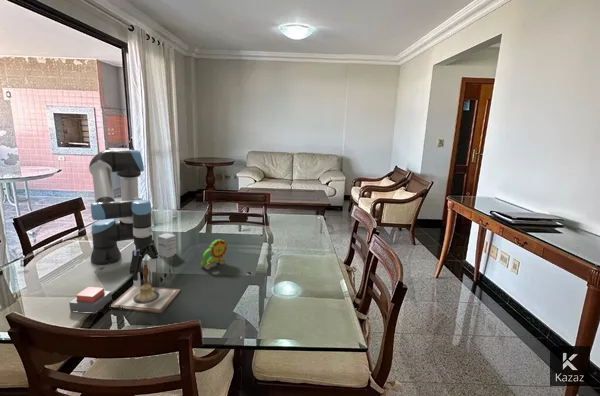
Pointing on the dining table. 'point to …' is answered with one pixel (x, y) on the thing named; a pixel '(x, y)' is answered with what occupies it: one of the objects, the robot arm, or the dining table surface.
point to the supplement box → (167, 245)
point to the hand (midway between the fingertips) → (145, 278)
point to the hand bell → (146, 288)
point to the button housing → (90, 303)
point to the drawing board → (155, 305)
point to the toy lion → (214, 254)
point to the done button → (90, 294)
